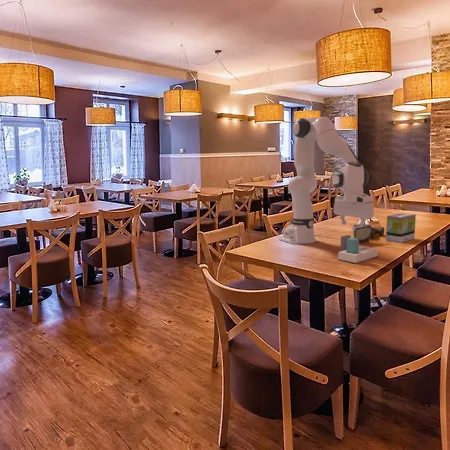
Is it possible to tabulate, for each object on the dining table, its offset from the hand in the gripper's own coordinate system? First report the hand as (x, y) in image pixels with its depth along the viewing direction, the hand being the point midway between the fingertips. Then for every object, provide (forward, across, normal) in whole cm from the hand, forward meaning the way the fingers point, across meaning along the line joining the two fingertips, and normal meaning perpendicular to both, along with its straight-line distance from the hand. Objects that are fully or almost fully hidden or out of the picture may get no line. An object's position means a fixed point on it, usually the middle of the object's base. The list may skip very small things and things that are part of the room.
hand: (352, 225), depth 198 cm
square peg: (+16, +1, 0) cm, 16 cm away
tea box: (+17, -7, +56) cm, 59 cm away
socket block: (+17, +1, +5) cm, 17 cm away
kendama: (+17, -23, +55) cm, 62 cm away
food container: (+17, -20, +35) cm, 43 cm away
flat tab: (+17, -10, +10) cm, 22 cm away
